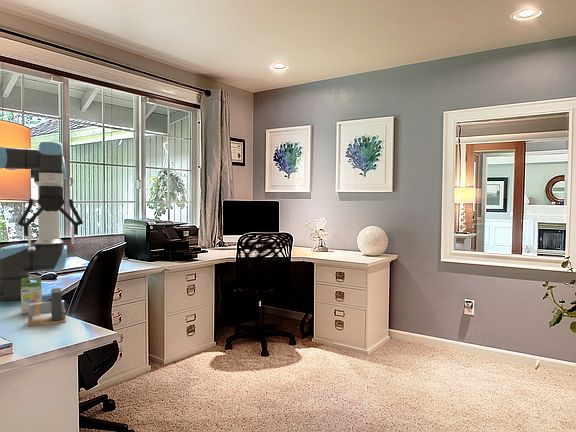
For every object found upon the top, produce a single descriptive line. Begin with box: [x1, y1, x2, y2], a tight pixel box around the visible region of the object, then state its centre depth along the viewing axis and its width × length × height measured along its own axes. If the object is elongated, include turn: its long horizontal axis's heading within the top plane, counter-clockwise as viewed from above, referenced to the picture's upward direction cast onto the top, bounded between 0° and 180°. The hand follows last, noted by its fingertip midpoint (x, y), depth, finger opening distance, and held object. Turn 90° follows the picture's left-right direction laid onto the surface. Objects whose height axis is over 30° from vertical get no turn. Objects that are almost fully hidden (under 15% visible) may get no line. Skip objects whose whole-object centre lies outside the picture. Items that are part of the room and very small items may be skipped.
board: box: [27, 308, 67, 327], centre depth 157 cm, size 8×12×3 cm
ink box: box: [20, 276, 43, 315], centre depth 168 cm, size 7×4×13 cm, turn 120°
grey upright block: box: [50, 287, 63, 321], centre depth 158 cm, size 8×3×10 cm, turn 30°
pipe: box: [28, 299, 66, 317], centre depth 157 cm, size 4×11×4 cm, turn 120°
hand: (51, 244), depth 155 cm, fingers open, 13 cm apart
